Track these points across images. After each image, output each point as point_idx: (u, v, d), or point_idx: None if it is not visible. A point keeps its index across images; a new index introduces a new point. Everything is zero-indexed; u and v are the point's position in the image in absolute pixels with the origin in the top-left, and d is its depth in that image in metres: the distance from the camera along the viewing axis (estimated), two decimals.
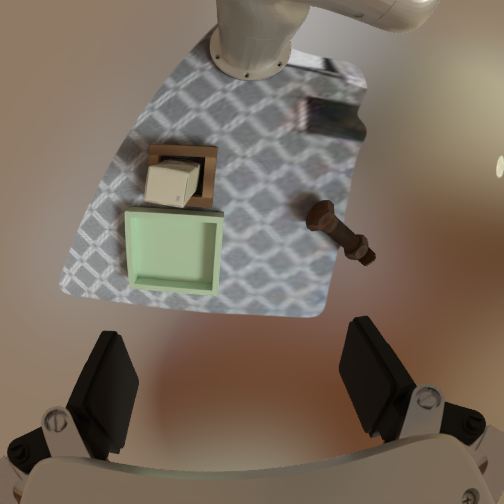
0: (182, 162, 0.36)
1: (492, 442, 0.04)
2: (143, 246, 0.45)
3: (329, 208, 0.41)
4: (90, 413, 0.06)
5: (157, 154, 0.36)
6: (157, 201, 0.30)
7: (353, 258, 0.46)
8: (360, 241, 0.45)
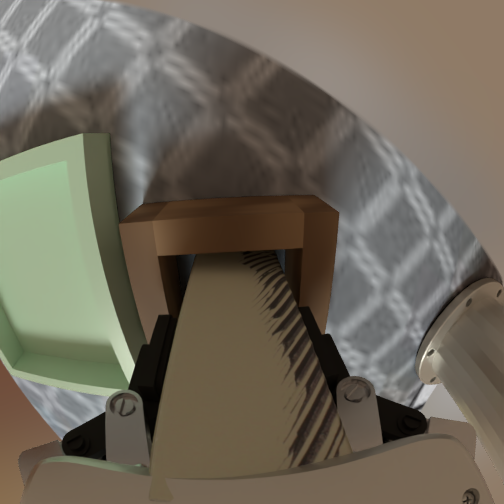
0: None
1: None
2: (19, 198, 0.12)
3: None
4: (160, 393, 0.07)
5: (305, 244, 0.11)
6: None
7: None
8: None
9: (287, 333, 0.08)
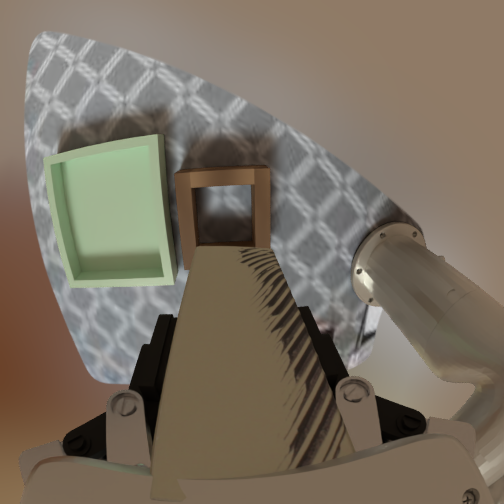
0: None
1: None
2: (105, 165, 0.26)
3: None
4: (161, 393, 0.07)
5: (255, 182, 0.25)
6: None
7: None
8: None
9: (286, 330, 0.08)
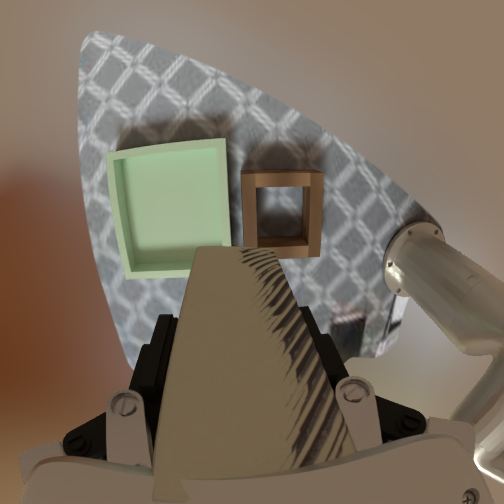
0: None
1: None
2: (169, 163, 0.30)
3: None
4: (161, 393, 0.07)
5: (311, 184, 0.29)
6: None
7: None
8: None
9: (288, 331, 0.08)
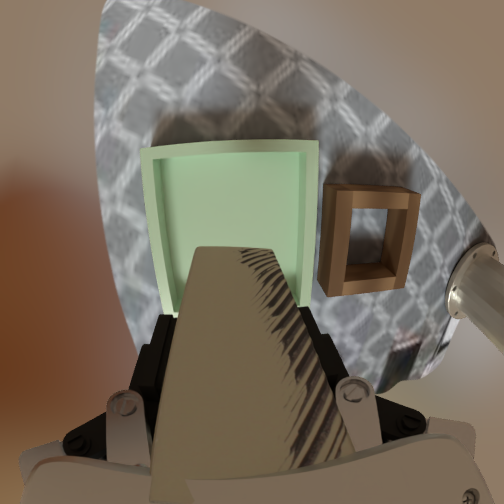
0: None
1: None
2: (231, 168, 0.23)
3: None
4: (161, 392, 0.07)
5: (408, 207, 0.22)
6: None
7: None
8: None
9: (286, 331, 0.08)
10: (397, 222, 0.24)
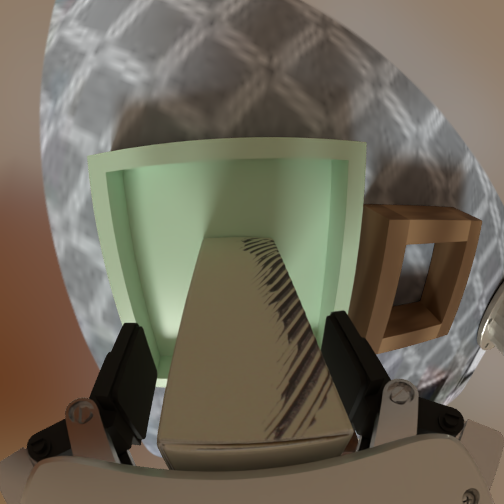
0: None
1: (473, 437, 0.05)
2: (230, 182, 0.15)
3: None
4: (116, 403, 0.07)
5: (468, 239, 0.14)
6: None
7: None
8: None
9: (282, 303, 0.09)
10: (450, 256, 0.16)
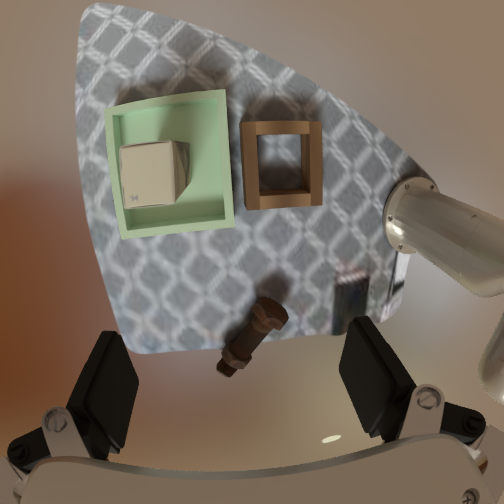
0: (186, 165, 0.27)
1: (492, 443, 0.04)
2: (168, 118, 0.28)
3: (285, 322, 0.37)
4: (90, 413, 0.06)
5: (310, 132, 0.28)
6: (122, 168, 0.18)
7: (226, 358, 0.40)
8: (247, 359, 0.40)
9: None
10: (306, 148, 0.30)
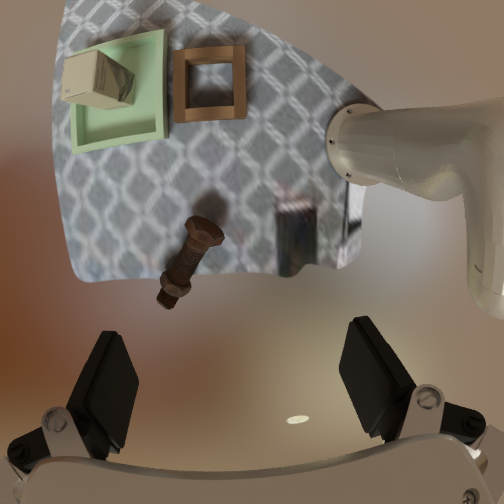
0: (123, 84, 0.26)
1: (492, 443, 0.04)
2: (121, 57, 0.28)
3: (217, 238, 0.36)
4: (90, 413, 0.06)
5: (233, 54, 0.27)
6: (63, 72, 0.18)
7: (162, 283, 0.39)
8: (184, 286, 0.39)
9: None
10: None
